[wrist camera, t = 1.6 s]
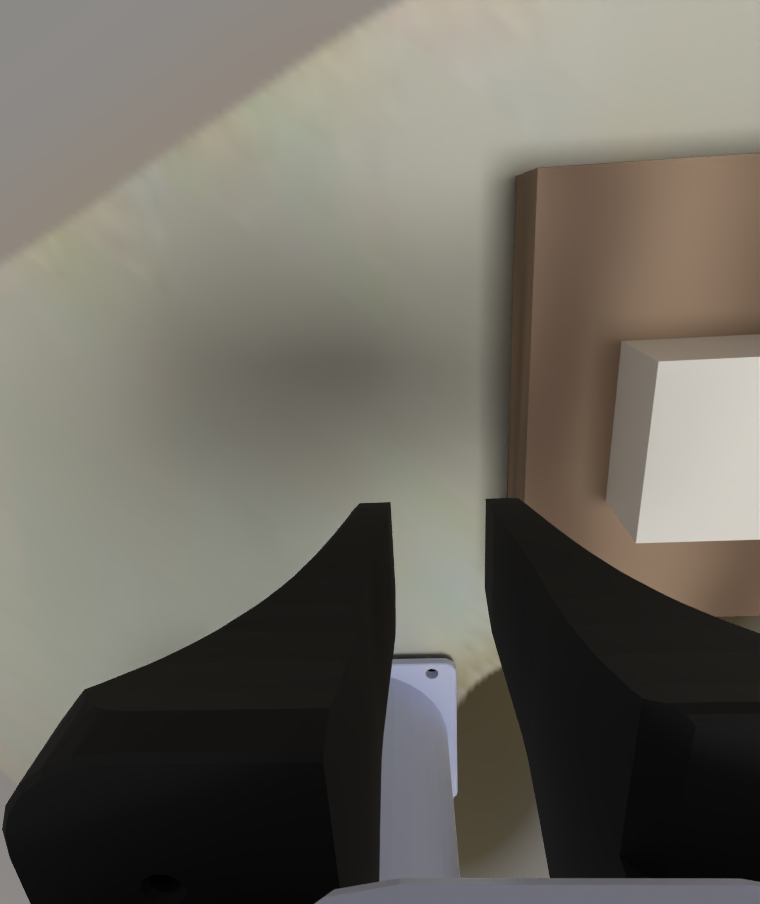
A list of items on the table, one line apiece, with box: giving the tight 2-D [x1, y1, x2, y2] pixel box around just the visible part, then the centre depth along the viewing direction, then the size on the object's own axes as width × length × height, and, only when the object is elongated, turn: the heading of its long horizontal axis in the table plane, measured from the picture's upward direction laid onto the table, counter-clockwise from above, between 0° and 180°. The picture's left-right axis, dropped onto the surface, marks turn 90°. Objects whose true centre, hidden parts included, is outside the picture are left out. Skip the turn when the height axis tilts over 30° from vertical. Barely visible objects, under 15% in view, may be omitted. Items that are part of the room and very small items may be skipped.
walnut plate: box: [507, 153, 760, 617], centre depth 18 cm, size 14×14×3 cm
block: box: [606, 334, 760, 543], centre depth 16 cm, size 5×5×2 cm
